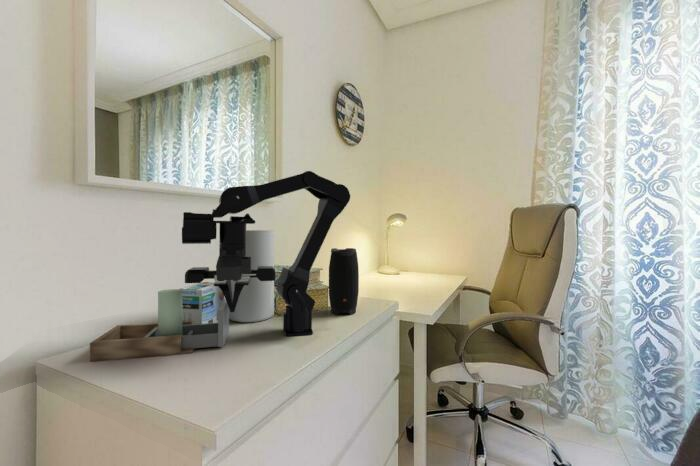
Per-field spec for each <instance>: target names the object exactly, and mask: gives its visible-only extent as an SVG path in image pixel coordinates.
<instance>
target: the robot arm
mask: <svg viewBox="0 0 700 466" xmlns="http://www.w3.org/2000/svg"><path fill="white" fill-rule="evenodd" d="M303 189H304V190H305V191H307V192H308V193H310V194H311V195H312V196H314V197H315V198H316V199H319V201H318V205H317V213H316V216H315V218H314V220H313V222H312V225H311V227H310V229H309V231H308V232H307V235H306V237H305V240H303V243H302V246H301V248H300V250H299V252H298V253H297V256H296V257H295V259H294V261H293V263H292V265H291V266H290V267H289V268H286V267H285V266H283V267H282V268H281V272H280V275H279V276H278V278H277V279H276V268H275V266H274V267H273V266H258V268H257V270H251V257H246V230H247V225H248V224H249V225H255V224H256V220H255V219H254V218H252V217H251V216H250V214H249V213H245V214H244V215H243V216H235V215H236V214H239V213H241V212H243V211H246V210H247V209H249V208H251V207H254V206H255V205H257V204H260V203H261V202H264V201H266V200H270V199H273V198H277V197H280V196H283V195H287V194H291V193H293V192H296V191H300V190H303ZM350 199H351V193H350V190H349V189H348V187H347V186H346V185H344V184H342V183H336V182H334V181H333V180H331V179H328V178H325V177H323V176H320V175H318V174H317V173H315V172H313V171H311V170H306V171H304V172H302V173H299V174H296V175H292V176H288V177H284V178H281V179H277V180H274V181H270V182H266V183H262V184H259V185H258V184H257V185H243V186H242V185H239V186H231V187H228V188H226V189H224V191H222V193H221V195H220V197H219V199H218V203H219V204H218V206H217V207H216V208H215V209H212V212H211V213H198V212H197V213H195V212H189V211H188V212H187V211H186V212H184V211H183V220H182V227H181V244H182V245H188V244H189V245H194V244H195V245H196V244H197V245H203V244H204V245H205V244H207V245H208V244H209V245H210V244H211V243H212V240H217V224H219V229H218V230H219V235H218V236H219V242H218V243H219V245H218V247H219V255H218V258H217V260H216V265H215V268H216V269H214V270H210V267H209V266H201V267H198V266H196V267H190V268H189V269H187V270H186V271H185V274H184V283H185V284H198V283H202V282H204V280H205V279H206V280H210V279H211V280H212V279H213V281H214V282H213V283H214V286H218V287H219V288H220V289H221V290H222V292H223V294H224V300H225V299H226V301H227V304H228V307H229V310H230V312H234V311H235V308H236V305H237V302H238V299H239V296H240V293H241V291H242V289H243V287H244V285H249V283H250V278H258V279H259V280H260V281H274V282H276V283H277V284H276V293H277V295H278V296H279V297H280V298H281V299H282V300H283V301H284V303H285V311H284V312H283V313H282V330H283V332H285V336H286V337H289V336H290V337H291V336H303V335H312V334H314V331H313V329H312V328H313V327H312V326H313V325H312V324H313V311H312V310H314V306H315V303H316V301H315V299H314V298H312V297H311V296H310V294H308V293H307V290H308V287H309V282H310V273H311V269H312V267H313V265H314V263H315V261H316V259H317V256H318V254H319V252H320V250H321V248H322V245H323V244H324V242H325V240H326V237H327V236H328V233H329V232H330V229H331V227H332V224H333V222H334V221H335V220H336V219H337V217H338V216H339V215H340V214H342V212H343V211H344V209H345V208H346V207H347V205H348V204H349V202H350ZM228 214H229V215H230V217H229V220H214V219H221V218H223V217H225V216H227V215H228ZM232 215H234V216H232ZM231 280H233V281H236V283H235V289H234V297H233V299H232V288H231Z"/></svg>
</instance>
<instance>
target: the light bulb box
mask: <svg viewBox="0 0 700 466" xmlns="http://www.w3.org/2000/svg"><path fill="white" fill-rule="evenodd" d="M214 283H215V282H213V281H212V282H210V281H209V282H208V281H202V282H201V283H194V284H192V285H188V286H184V287H180V288H179V289H181V290H182V321H193V324H206V323H218V309H219V308H220V306H221V304H222V303H223V301H224V300H225V296H224V294H223V292H222V290H221V289H220V288H219V287H218V286H214Z"/></svg>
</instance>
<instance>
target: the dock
mask: <svg viewBox="0 0 700 466" xmlns="http://www.w3.org/2000/svg"><path fill="white" fill-rule="evenodd" d="M190 324H193V321H182V325H190ZM155 327H158V322H150V323H147V322H146V323H134V324H133V323H132V324H118V325H116V326H114V327H112V328H111V329H109V330H108V331H106V332H105V333H103V334H102V335H100V336H99V337H97V338H95V339H94V340H93V341H91V342H89V361H90V362H91V363H92V362H102V361H113V360H124V359H125V360H126V359H138V358H149V357H160V356H162V357H163V356H172V355H174V356H175V355H184V354H193V352H194V350H195V349H196V348H191V349H181V335H173V336H159V337H145V336H146V335H147V334H148V333H149V332H150V331H152V330H153V329H154V328H155Z"/></svg>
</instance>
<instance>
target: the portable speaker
mask: <svg viewBox="0 0 700 466" xmlns="http://www.w3.org/2000/svg"><path fill="white" fill-rule="evenodd" d="M357 253H358V252H357V249H356V248H353V247H352V248H351V247H350V248H349V247H348V248H342V249H338V247H337V248H334V247H333V248H331V250H330V257H329V258H330V259H329V265H328V297H329V298H328V299H329V305H330V314H333V315H335V316H336V315H337V316H338V315H339V314H340V313H347V314H348V315H353V314H352V313H355V314H356V312H357V307H358V299H359V289H360V288H359V282H360V281H359V278H360V276H359V259H358V254H357Z"/></svg>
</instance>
